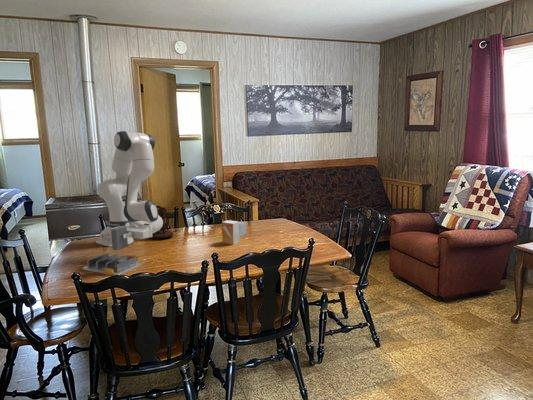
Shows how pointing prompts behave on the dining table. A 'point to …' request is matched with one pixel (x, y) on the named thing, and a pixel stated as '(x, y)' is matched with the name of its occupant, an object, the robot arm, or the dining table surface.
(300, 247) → the dining table surface
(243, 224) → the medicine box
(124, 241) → the grey rectangular block
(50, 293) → the dining table surface
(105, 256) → the rack
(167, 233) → the brown statue
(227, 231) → the small box
